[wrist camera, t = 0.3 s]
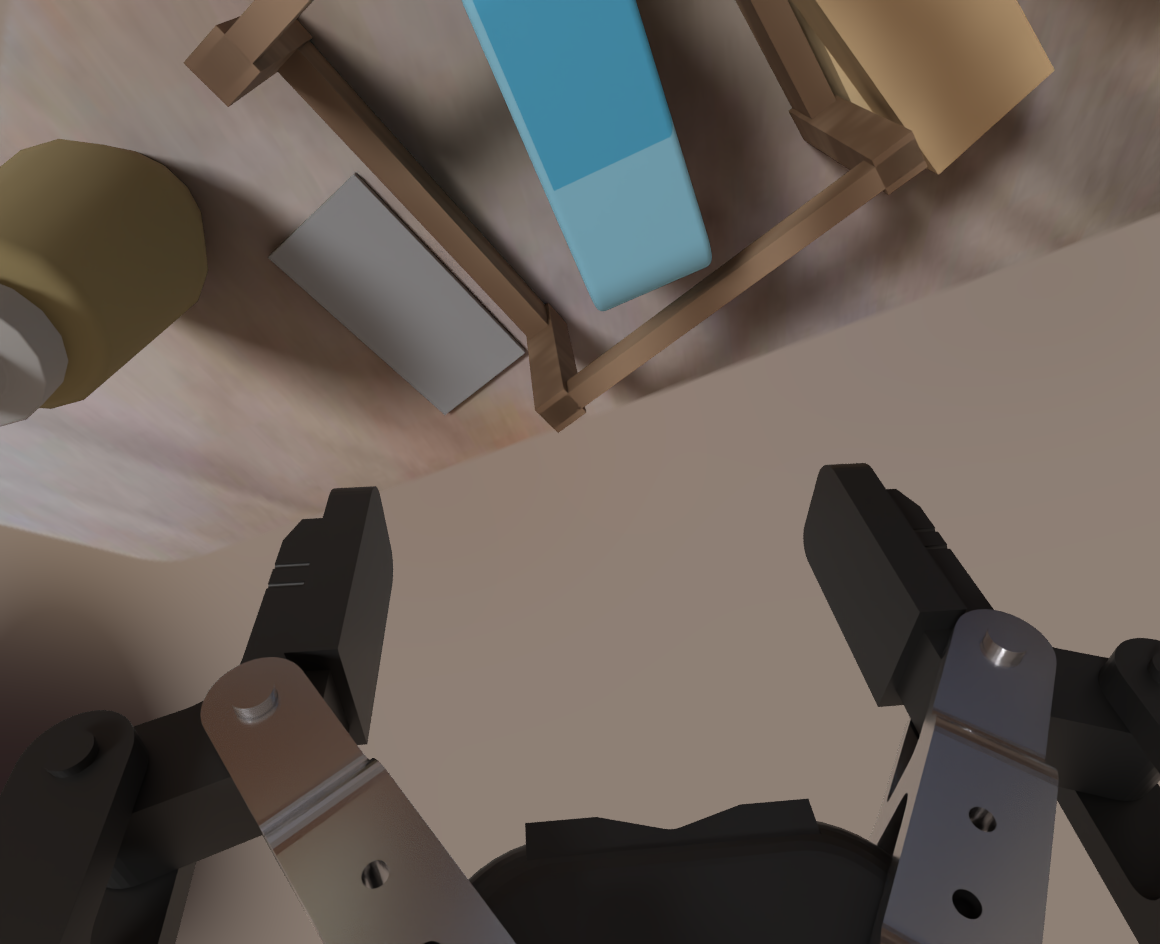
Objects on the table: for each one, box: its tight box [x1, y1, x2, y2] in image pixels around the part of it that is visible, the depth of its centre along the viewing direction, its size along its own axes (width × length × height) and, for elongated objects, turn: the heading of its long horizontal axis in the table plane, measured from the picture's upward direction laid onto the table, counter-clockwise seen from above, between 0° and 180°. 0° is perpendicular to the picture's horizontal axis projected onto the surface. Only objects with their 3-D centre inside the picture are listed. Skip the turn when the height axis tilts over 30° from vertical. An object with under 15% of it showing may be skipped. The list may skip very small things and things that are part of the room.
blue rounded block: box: [462, 0, 712, 311], centre depth 27 cm, size 12×4×12 cm, turn 22°
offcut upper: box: [792, 0, 1054, 175], centre depth 28 cm, size 5×9×3 cm, turn 47°
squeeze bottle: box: [0, 139, 208, 426], centre depth 26 cm, size 8×8×18 cm
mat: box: [268, 173, 525, 415], centre depth 37 cm, size 6×12×1 cm, turn 38°
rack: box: [184, 0, 928, 432], centre depth 28 cm, size 18×19×9 cm
